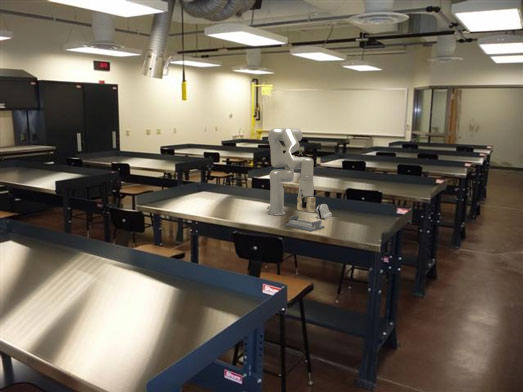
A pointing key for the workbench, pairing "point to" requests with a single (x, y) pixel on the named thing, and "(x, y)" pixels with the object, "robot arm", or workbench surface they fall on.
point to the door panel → (309, 206)
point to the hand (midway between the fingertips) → (306, 207)
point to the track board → (304, 224)
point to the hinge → (323, 211)
